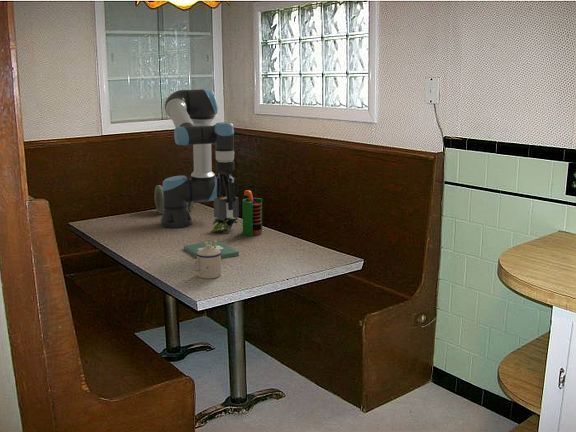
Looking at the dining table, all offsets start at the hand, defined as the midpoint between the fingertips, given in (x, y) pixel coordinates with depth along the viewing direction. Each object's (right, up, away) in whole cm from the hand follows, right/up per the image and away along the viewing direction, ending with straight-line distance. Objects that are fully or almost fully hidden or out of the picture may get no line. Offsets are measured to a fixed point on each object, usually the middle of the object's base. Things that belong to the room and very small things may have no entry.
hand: (226, 215), depth 268 cm
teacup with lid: (-5, -23, -30) cm, 38 cm away
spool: (-34, +2, +72) cm, 80 cm away
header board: (-7, -15, 0) cm, 17 cm away
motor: (+9, -8, +29) cm, 32 cm away
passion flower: (-3, -8, +32) cm, 33 cm away
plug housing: (0, 0, 0) cm, 0 cm away
